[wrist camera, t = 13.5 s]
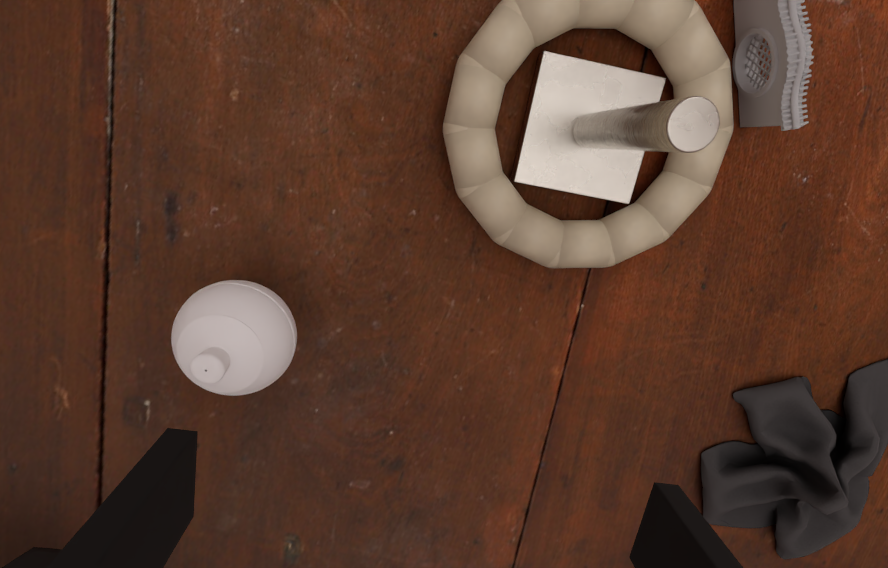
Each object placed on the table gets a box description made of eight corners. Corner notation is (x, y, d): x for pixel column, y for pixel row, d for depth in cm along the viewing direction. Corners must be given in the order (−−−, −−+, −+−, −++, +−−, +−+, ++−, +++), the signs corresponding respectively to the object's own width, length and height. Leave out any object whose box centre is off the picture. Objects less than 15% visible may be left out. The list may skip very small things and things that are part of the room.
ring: (418, 234, 38) (418, 243, 35) (482, -64, 33) (490, -88, 29) (658, 286, 40) (680, 300, 37) (756, 15, 35) (793, 1, 31)
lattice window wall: (725, -46, 34) (788, -84, 28) (751, -52, 33) (818, -91, 28) (735, 132, 37) (792, 131, 31) (759, 127, 37) (820, 124, 31)
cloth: (821, 565, 49) (875, 622, 44) (659, 522, 47) (693, 577, 41) (950, 375, 44) (1032, 412, 38) (774, 315, 41) (833, 344, 35)
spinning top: (308, 251, 38) (260, 299, 26) (324, 341, 40) (286, 422, 29) (209, 261, 38) (117, 314, 26) (231, 351, 40) (155, 437, 28)
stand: (510, 180, 37) (570, 206, 22) (538, 53, 35) (627, -12, 20) (621, 202, 38) (750, 241, 23) (657, 80, 36) (826, 36, 21)
